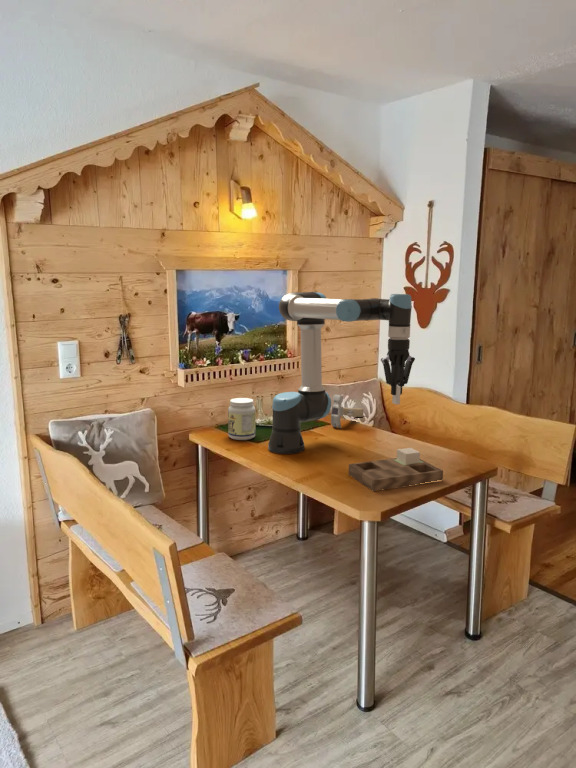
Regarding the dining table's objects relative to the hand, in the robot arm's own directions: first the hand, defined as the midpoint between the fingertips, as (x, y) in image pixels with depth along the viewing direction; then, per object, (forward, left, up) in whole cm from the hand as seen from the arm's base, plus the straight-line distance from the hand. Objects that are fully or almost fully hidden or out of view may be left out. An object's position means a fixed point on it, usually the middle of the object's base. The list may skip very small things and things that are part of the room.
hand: (396, 403), depth 205 cm
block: (+6, 0, -22) cm, 23 cm away
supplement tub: (-38, +65, -27) cm, 80 cm away
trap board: (-2, -5, -26) cm, 27 cm away
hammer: (+19, +72, -27) cm, 79 cm away
